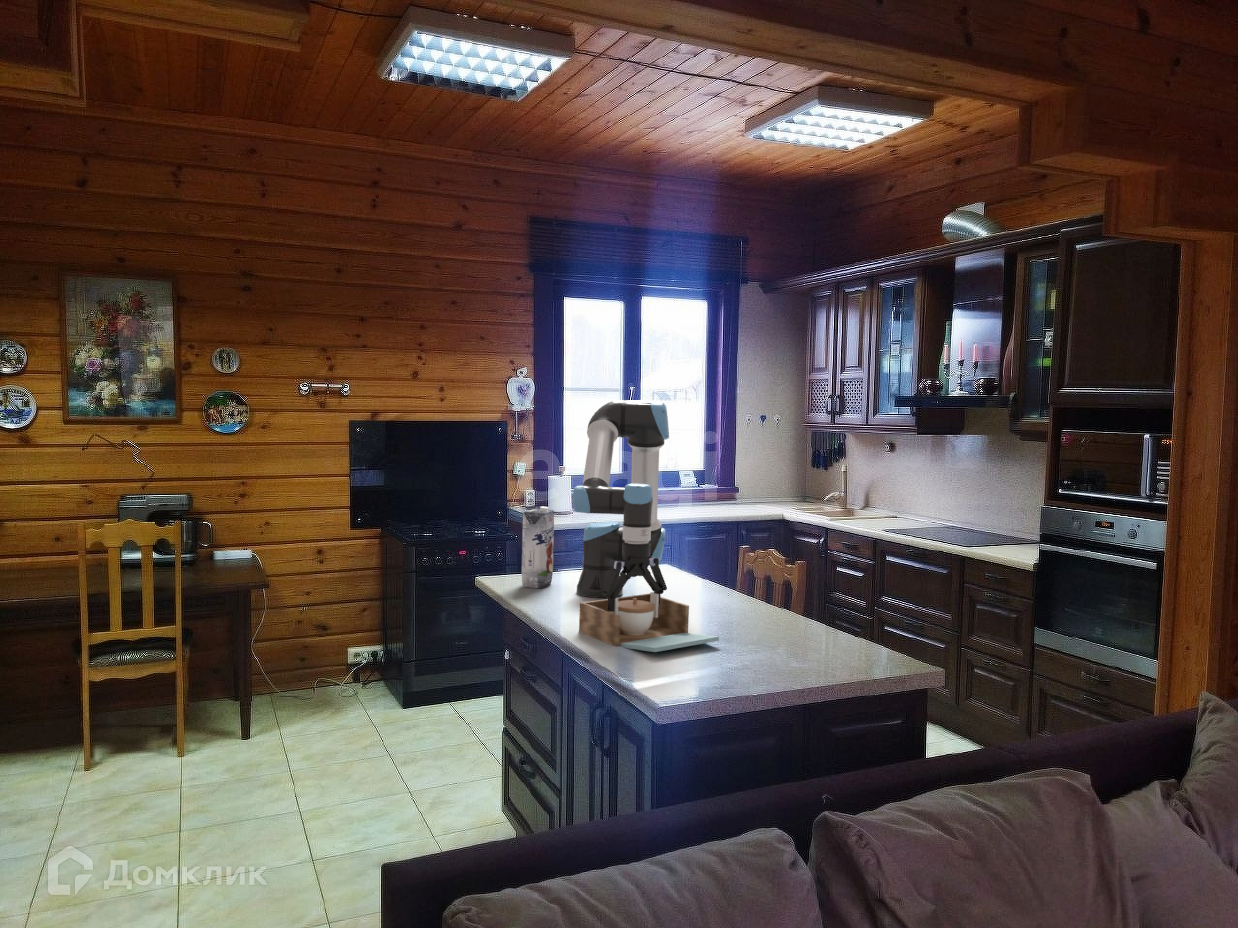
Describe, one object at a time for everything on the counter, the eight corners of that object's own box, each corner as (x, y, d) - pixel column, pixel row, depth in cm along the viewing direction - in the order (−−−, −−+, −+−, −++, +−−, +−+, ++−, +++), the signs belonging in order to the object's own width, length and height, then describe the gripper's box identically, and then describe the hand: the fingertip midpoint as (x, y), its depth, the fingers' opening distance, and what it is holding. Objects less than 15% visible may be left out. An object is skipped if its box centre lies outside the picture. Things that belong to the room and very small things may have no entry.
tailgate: (618, 642, 230) (654, 647, 218) (681, 632, 242) (718, 636, 230) (618, 646, 230) (654, 652, 218) (681, 636, 242) (719, 640, 230)
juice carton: (518, 587, 301) (520, 507, 299) (530, 581, 311) (532, 503, 309) (543, 589, 298) (545, 508, 296) (554, 583, 308) (556, 505, 306)
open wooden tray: (578, 635, 242) (579, 602, 241) (649, 624, 256) (650, 593, 256) (615, 650, 228) (616, 616, 228) (687, 638, 242) (689, 605, 242)
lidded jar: (660, 631, 244) (661, 597, 243) (641, 640, 235) (642, 604, 234) (626, 625, 250) (627, 592, 249) (606, 633, 240) (607, 599, 240)
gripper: (606, 547, 230) (604, 628, 232) (681, 540, 245) (678, 617, 246) (590, 542, 236) (587, 622, 238) (663, 536, 251) (661, 611, 252)
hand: (634, 619), depth 242 cm, fingers open, 13 cm apart
